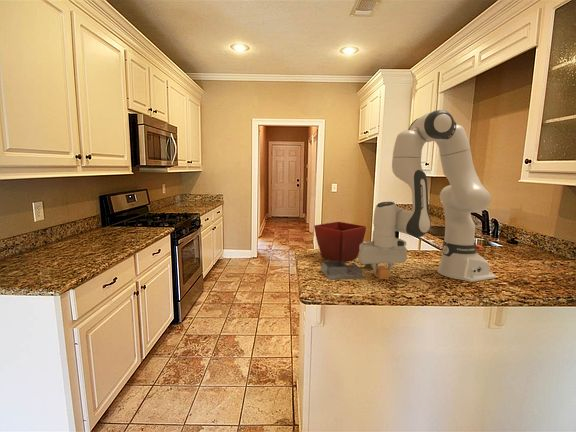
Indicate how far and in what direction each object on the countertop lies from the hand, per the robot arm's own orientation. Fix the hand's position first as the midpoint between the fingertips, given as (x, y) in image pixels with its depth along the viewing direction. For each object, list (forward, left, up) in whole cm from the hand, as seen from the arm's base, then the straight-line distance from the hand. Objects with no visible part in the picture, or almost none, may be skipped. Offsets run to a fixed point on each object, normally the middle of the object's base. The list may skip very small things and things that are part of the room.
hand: (381, 273), depth 125 cm
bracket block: (0, 0, -2) cm, 2 cm away
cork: (-1, -12, -2) cm, 12 cm away
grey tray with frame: (+16, -6, -2) cm, 17 cm away
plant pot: (+9, -29, -2) cm, 30 cm away
